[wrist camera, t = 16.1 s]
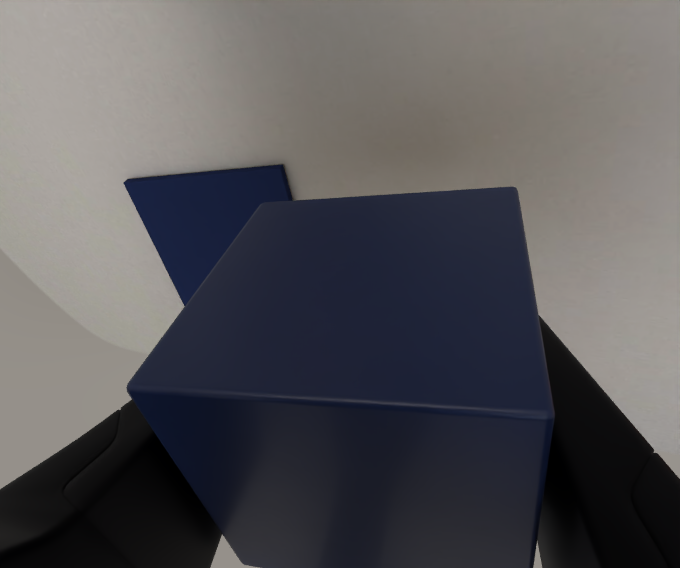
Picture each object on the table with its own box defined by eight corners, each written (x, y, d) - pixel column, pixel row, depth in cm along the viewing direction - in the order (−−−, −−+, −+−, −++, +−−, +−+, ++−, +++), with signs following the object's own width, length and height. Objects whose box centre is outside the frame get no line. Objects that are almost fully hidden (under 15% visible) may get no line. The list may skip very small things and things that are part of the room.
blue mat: (322, 307, 24) (320, 312, 24) (190, 307, 27) (187, 312, 26) (283, 163, 20) (280, 167, 19) (127, 178, 22) (122, 182, 22)
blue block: (508, 376, 11) (528, 618, 7) (311, 367, 12) (240, 566, 9) (517, 184, 8) (556, 416, 4) (260, 201, 10) (120, 387, 6)
